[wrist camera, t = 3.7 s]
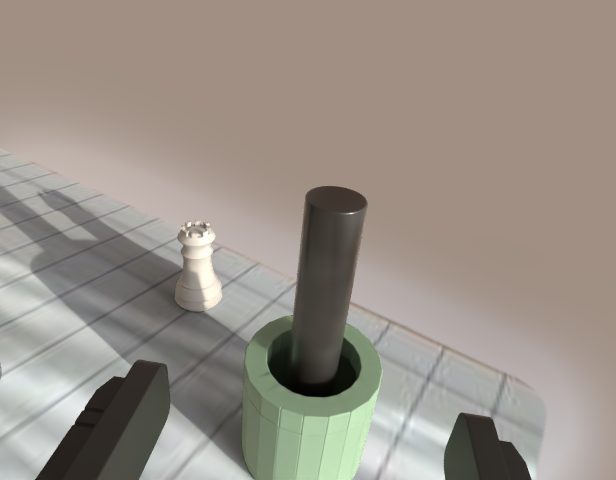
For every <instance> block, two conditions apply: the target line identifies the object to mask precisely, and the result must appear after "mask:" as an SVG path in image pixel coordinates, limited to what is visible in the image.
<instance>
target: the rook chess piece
mask: <svg viewBox="0 0 616 480" xmlns="http://www.w3.org/2000/svg"><path fill="white" fill-rule="evenodd" d="M177 238H178V240H179V241H180V242H181V243H182V244H183V248H182V249H181V253H182V255H183V258H184V263H183V272H182V274H181V275H180V277H179V280H178V281H177V283H176V287H175V292H176V293H175V297H174V298H175V300H176V302H177V304H178V305H180V306H181V307H182V308H184V309H185V310H189V311H192V312H202V311H206V310H209V309H211V308H212V307H214V306H215V305H216V304H217V303H218V302H219V301H220V300H221V298H222V291H221V283H220V281H219V279H218V278H217V276H216V274H215V273H214V272H213V268H212V262H211V254H212V253H213V249H212V247H211V246H210V244H211V242H212V241H213V240H214V239H215V234H214V232H213V231H212V230H211V226H209V223H208V222H206V221H205V222H204V223H203V225H201V224H200V220H195V224H194V225H191V222H190V221H187V222H185V225H182V227H181V231H180V233H179V234H178V237H177Z"/></svg>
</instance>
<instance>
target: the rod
mask: <svg viewBox="0 0 616 480" xmlns="http://www.w3.org/2000/svg"><path fill="white" fill-rule="evenodd" d="M367 205H368V203H367V200H366V198H365V197H364V196H362V195H361V194H360V193H358V192H356V191H353V190H350V189H347V188H343V187H336V186H322V187H317V188H314V189H311V190H310V191H308V192H307V194H306V197H305V205H304V214H303V224H302V234H301V244H300V254H299V263H298V273H297V283H296V293H295V302H294V312H293V322H292V332H291V341H290V351H289V361H288V371H287V381H286V389H288V390H290V391H291V392H293V393H296V394H300V395H303V396H306V397H329V396H333V392H334V386H335V381H336V375H337V370H338V364H339V359H340V353H341V348H342V342H343V337H344V331H345V326H346V321H347V315H348V310H349V304H350V299H351V293H352V288H353V282H354V277H355V271H356V266H357V260H358V255H359V249H360V244H361V239H362V233H363V228H364V222H365V216H366V211H367Z"/></svg>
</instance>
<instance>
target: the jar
mask: <svg viewBox="0 0 616 480" xmlns="http://www.w3.org/2000/svg"><path fill="white" fill-rule="evenodd" d="M292 322H293V315H291V316H285V317H282V318H279V319H277V320H274V321H272V322H269V323H268V324H266V325H265V326H264V327H263V328H261V329H260V330H259V331H258V332H256V334H255V335H254V336H253V338H252V339H251V341H250V343H249V344H248V346H247V348H246V353H245V360H244V381H243V413H242V451H243V457H244V460H245V463H246V466H247V468H248V470H249V472H250V473H251V475H252V476H253V477H254V479H255V480H352V478H353V477H354V475H355V474H356V471H357V469H358V467H359V464H360V461H361V457H362V453H363V449H364V445H365V442H366V438H367V434H368V430H369V426H370V422H371V418H372V415H373V411H374V407H375V403H376V399H377V395H378V391H379V387H380V383H381V378H382V373H383V372H382V371H383V370H382V365H381V360H380V356H379V353H378V352H377V350H376V349H375V347H374V346H373V344H372V342H371V341H370V340H369V339H368V338H367V337H366V336H365V335H364V334H362V333H361V332H360V331H359V330H358V329H356V328H355V327H353V326H351V325H349V324H347V323H346V326H345V331H344V337H343V342H342V348H341V353H340V359H339V364H338V370H337V375H336V381H335V386H334V392H333V396H329V397H306V396H303V395H300V394H296V393H293V392H291V391H290V390H288V389H286V381H287V371H288V361H289V351H290V341H291V332H292Z"/></svg>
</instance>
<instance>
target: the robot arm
mask: <svg viewBox="0 0 616 480" xmlns="http://www.w3.org/2000/svg"><path fill="white" fill-rule="evenodd" d="M1 373H2V368H1V364H0V378H1ZM169 409H170V392H169V381H168V370H167V365H166V364H164V363H157V362H151V361H145V360H137V361H136V362H135V363H134V365H133V366H132V368H131V369H130V371H129V372H128V374H127V375H126V377H125V378H122V377H116V376H114V377H113V378H111V379H110V380H109V381H108V382H106V383H105V384H104V385H102V386H101V387H100V388H99V389H97V390H96V392H95V393H94V395H93V396H92V398H91V399H90V400H89V402H88V403H87V405H86V406H85V410H84V411H82V412H81V414H80V415H79V417H78V418H77V419H76V421H75V424H74V425H72V427H71V428H70V430H69V431H68V433H67V434H66V436H65V437H64V438H63V440H62V441H61V443H60V444H59V446H58V447H57V449H56V450H55V452H54V453H53V455H52V456H51V457H50V459H49V460H48V462H47V463H46V465H45V466H44V468H43V469H42V471H41V472H40V474H39V475H38V476H37V478H36V479H35V480H139V478H140V476H141V474H142V472H143V470H144V467H145V465H146V463H147V461H148V459H149V457H150V455H151V453H152V451H153V448H154V446H155V444H156V442H157V440H158V438H159V436H160V434H161V431H162V429H163V427H164V425H165V423H166V420H167V417H168V414H169ZM444 473H445V480H531V477H530V474H529V471H528V468H527V465H526V462H525V461H524V460H523V458H522V457H521V455H520V454H519V453H518V451H517V450H516V448H515V447H514V446H513V444H512V443H511V442H505V441H499V439H498V435H497V432H496V428H495V425H494V422H493V420H492V419H491V418H490V417H486V416H480V415H474V414H468V413H460V414H459V416H458V418H457V420H456V423H455V425H454V428H453V430H452V433H451V435H450V438H449V441H448V443H447V446H446V449H445V454H444Z"/></svg>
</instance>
